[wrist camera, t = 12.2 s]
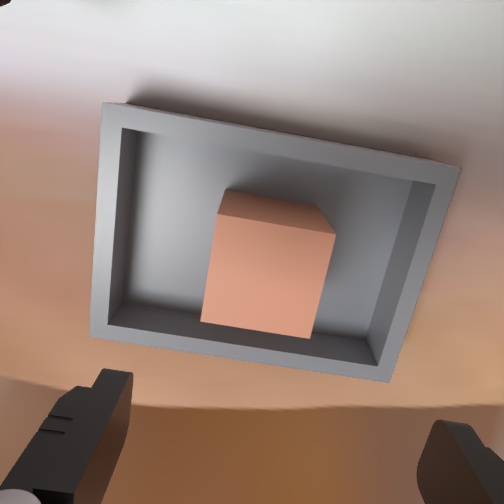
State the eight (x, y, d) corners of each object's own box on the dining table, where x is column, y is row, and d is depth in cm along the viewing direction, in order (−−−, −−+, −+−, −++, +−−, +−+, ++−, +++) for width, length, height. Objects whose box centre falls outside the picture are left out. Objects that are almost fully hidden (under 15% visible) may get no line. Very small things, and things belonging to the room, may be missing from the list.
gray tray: (431, 159, 25) (461, 168, 21) (372, 348, 29) (389, 383, 25) (125, 103, 24) (102, 102, 20) (109, 307, 28) (89, 337, 24)
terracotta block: (316, 205, 25) (336, 234, 19) (297, 289, 27) (309, 338, 21) (225, 189, 24) (217, 213, 19) (211, 275, 26) (200, 321, 21)
